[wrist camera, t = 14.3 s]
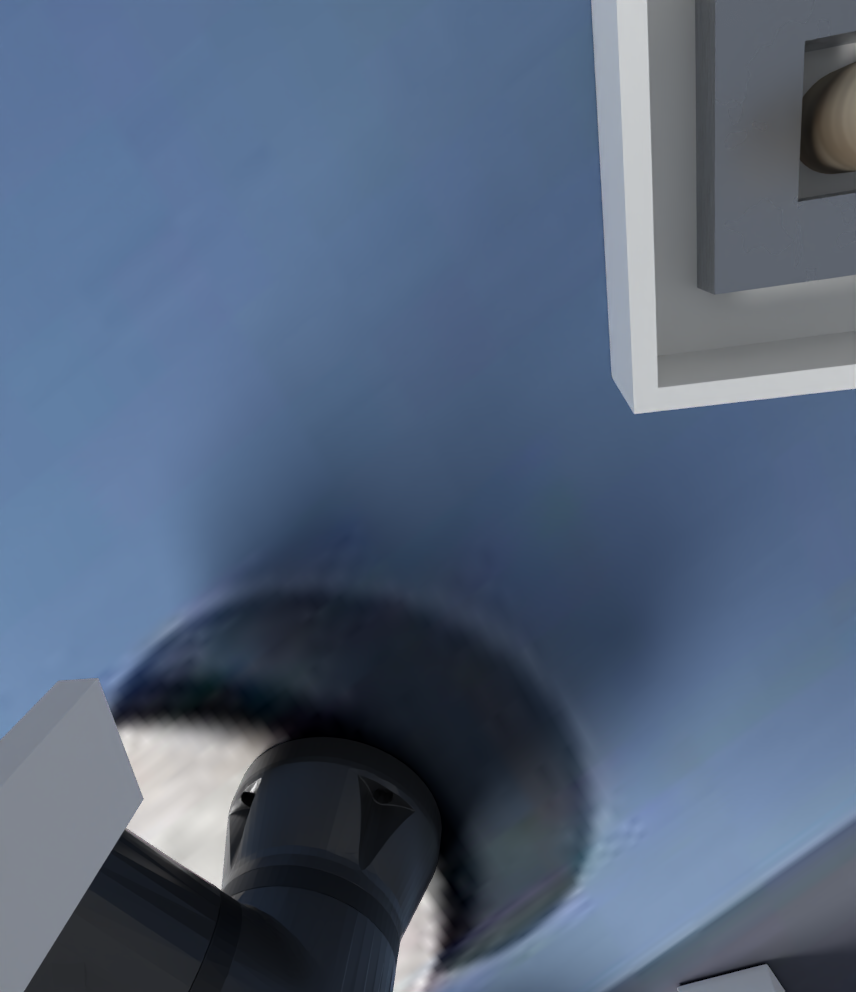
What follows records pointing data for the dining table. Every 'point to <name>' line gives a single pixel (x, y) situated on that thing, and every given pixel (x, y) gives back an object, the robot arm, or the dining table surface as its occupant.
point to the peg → (830, 123)
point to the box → (673, 236)
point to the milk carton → (738, 982)
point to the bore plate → (763, 146)
